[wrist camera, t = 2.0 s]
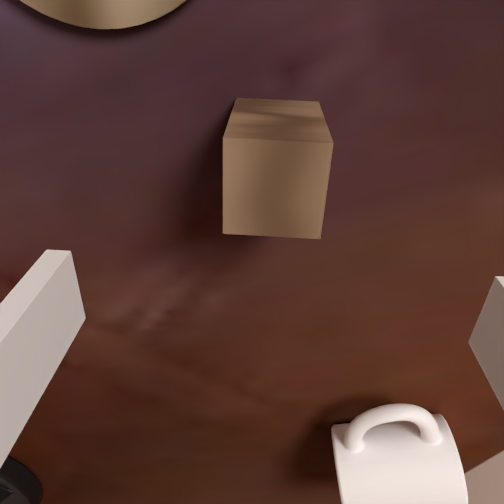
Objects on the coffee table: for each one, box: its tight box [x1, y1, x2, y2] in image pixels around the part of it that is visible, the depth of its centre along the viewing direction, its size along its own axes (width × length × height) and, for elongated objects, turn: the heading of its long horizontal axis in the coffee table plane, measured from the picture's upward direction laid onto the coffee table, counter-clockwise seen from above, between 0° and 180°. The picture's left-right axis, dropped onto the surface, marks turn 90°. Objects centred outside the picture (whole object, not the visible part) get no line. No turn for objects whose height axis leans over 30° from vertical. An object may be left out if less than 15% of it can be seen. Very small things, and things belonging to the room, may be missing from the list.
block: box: [223, 98, 333, 239], centre depth 24 cm, size 5×5×8 cm
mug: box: [331, 403, 468, 504], centre depth 38 cm, size 12×10×8 cm
